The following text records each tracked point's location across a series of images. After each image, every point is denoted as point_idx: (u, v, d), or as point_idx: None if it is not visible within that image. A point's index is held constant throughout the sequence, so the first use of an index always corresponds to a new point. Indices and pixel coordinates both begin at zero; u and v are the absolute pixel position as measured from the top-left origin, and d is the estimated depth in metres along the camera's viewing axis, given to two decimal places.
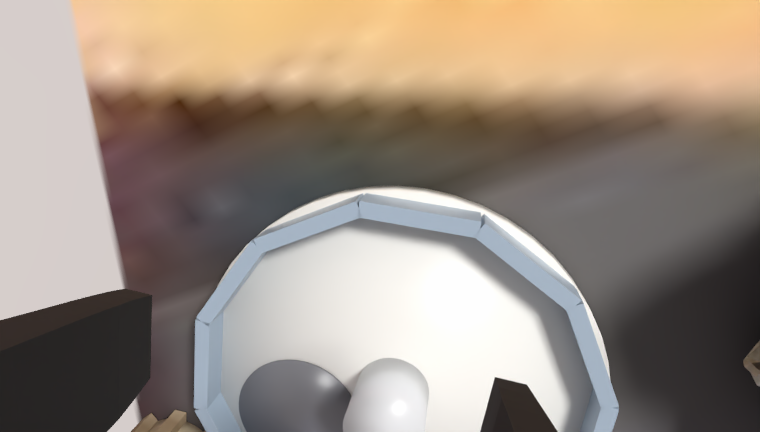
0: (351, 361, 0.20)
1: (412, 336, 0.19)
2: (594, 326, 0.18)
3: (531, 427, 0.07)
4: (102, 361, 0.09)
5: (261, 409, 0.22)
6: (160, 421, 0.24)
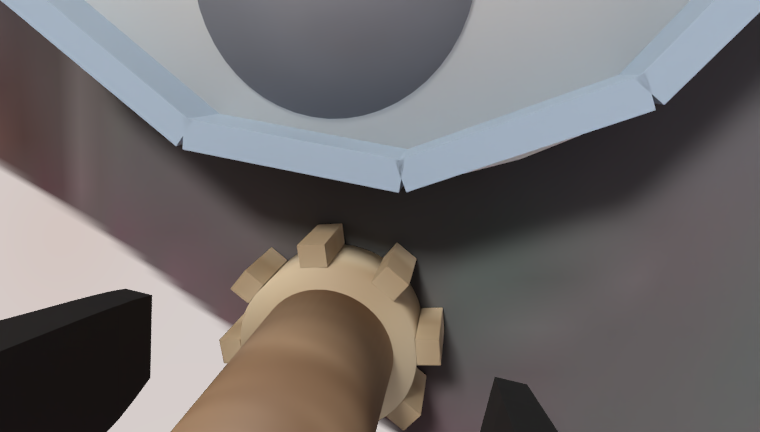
0: None
1: None
2: None
3: (531, 427, 0.07)
4: (102, 360, 0.09)
5: (287, 52, 0.10)
6: None
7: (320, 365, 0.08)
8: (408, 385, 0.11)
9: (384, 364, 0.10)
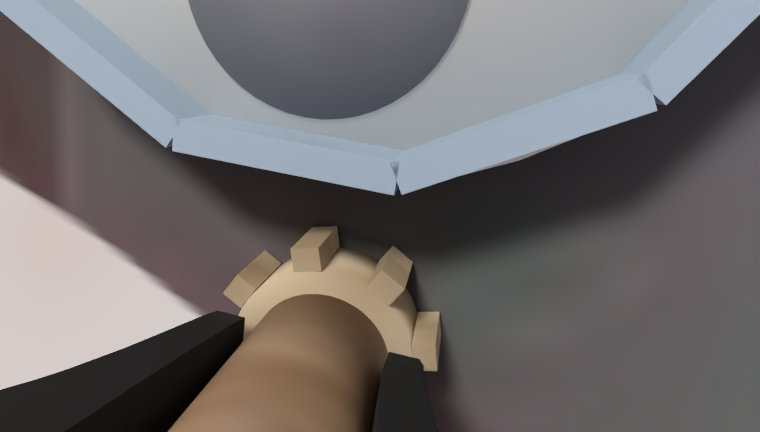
0: None
1: None
2: None
3: (399, 394, 0.08)
4: None
5: (280, 51, 0.09)
6: None
7: (313, 373, 0.08)
8: None
9: (379, 370, 0.10)
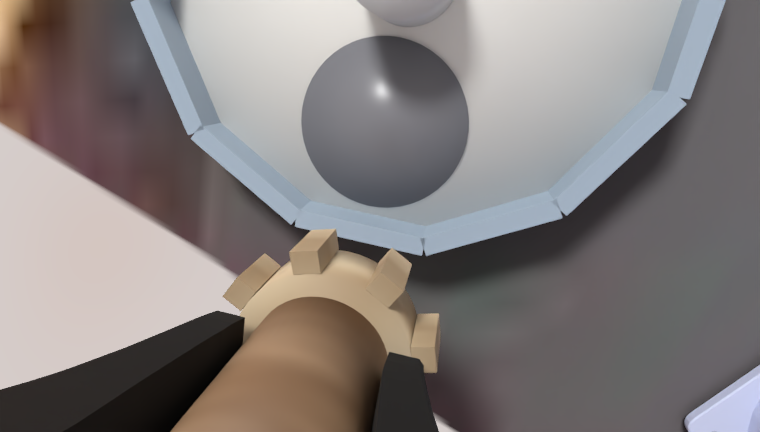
0: (347, 5, 0.15)
1: None
2: None
3: (399, 394, 0.08)
4: (206, 387, 0.09)
5: (355, 168, 0.16)
6: None
7: (313, 376, 0.08)
8: None
9: (379, 373, 0.10)
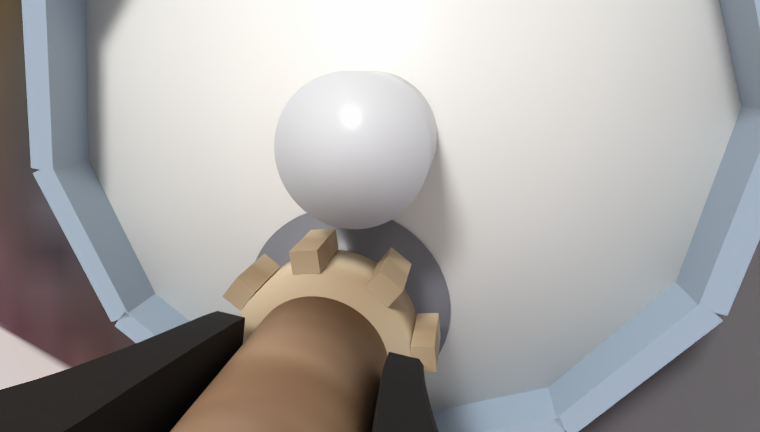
0: None
1: (299, 48, 0.11)
2: None
3: (399, 395, 0.08)
4: None
5: None
6: None
7: (311, 375, 0.08)
8: None
9: (379, 372, 0.10)
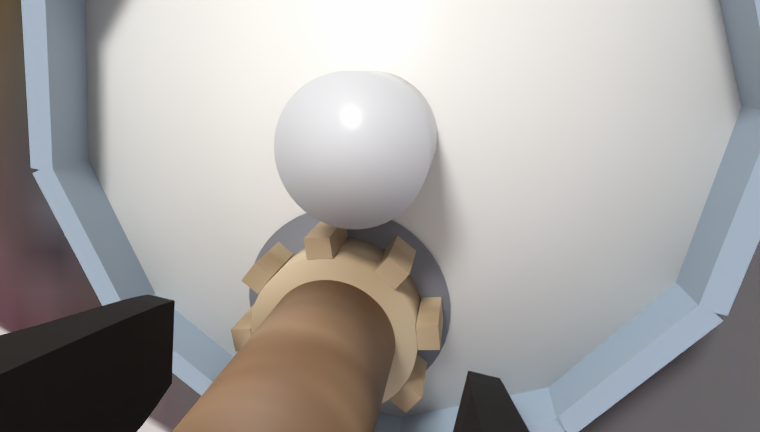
0: None
1: (299, 48, 0.11)
2: None
3: (497, 419, 0.07)
4: (128, 367, 0.09)
5: None
6: None
7: (328, 347, 0.09)
8: (409, 369, 0.11)
9: (387, 348, 0.10)
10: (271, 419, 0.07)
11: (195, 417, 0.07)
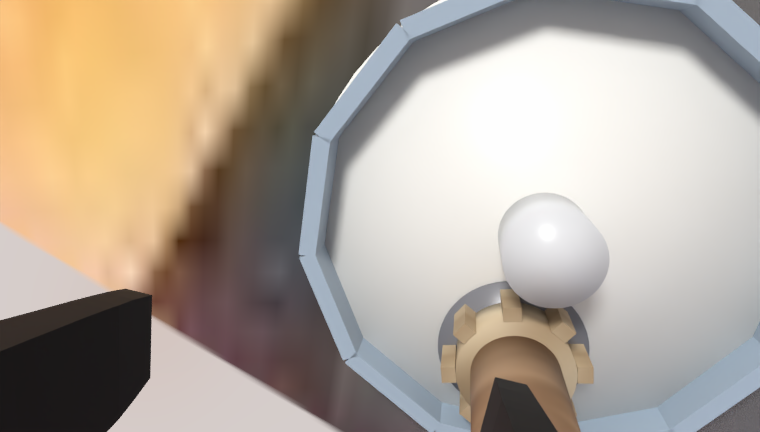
0: (485, 255, 0.17)
1: (494, 175, 0.17)
2: None
3: (531, 427, 0.07)
4: (102, 360, 0.09)
5: None
6: (457, 341, 0.18)
7: (551, 388, 0.14)
8: (570, 396, 0.17)
9: (565, 384, 0.16)
10: None
11: None
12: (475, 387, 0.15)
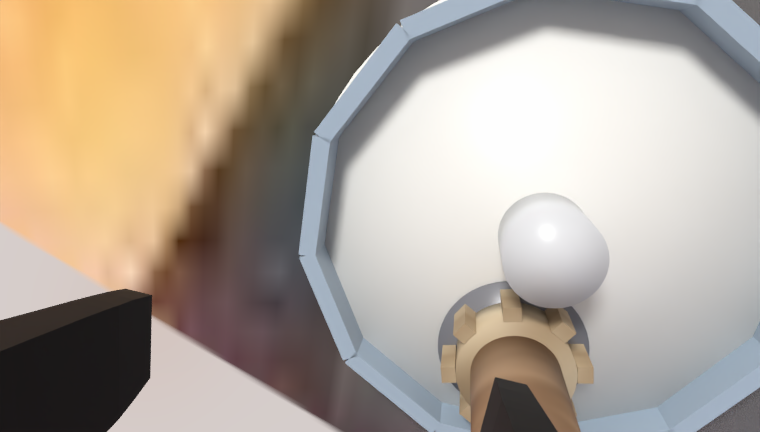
0: (485, 255, 0.17)
1: (494, 175, 0.17)
2: None
3: (531, 427, 0.07)
4: (102, 360, 0.09)
5: None
6: (457, 341, 0.18)
7: (551, 388, 0.14)
8: (570, 396, 0.17)
9: (565, 384, 0.16)
10: None
11: None
12: (475, 387, 0.15)
